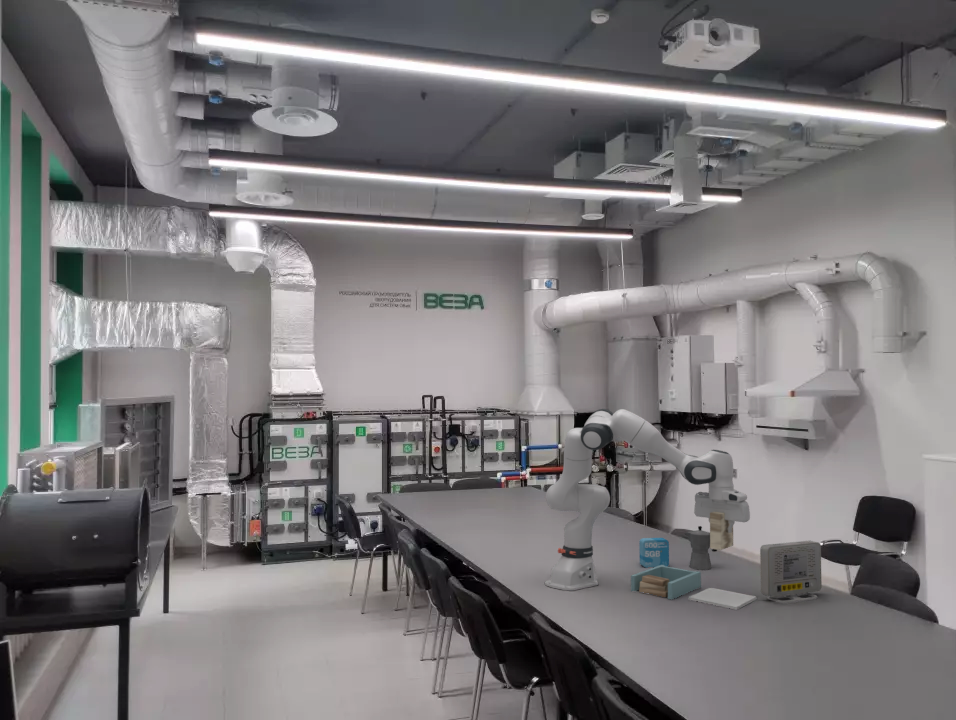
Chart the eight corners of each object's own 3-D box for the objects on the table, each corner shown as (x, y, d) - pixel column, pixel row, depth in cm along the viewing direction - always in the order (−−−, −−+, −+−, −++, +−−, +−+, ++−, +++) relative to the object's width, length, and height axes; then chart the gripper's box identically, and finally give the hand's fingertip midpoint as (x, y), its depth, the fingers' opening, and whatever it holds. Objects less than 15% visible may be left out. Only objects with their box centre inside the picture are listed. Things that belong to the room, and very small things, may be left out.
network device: (809, 591, 276) (808, 539, 277) (827, 597, 268) (826, 543, 269) (756, 598, 267) (755, 544, 268) (774, 604, 259) (773, 548, 260)
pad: (736, 610, 252) (736, 607, 252) (688, 599, 264) (688, 597, 265) (756, 599, 266) (756, 596, 266) (710, 590, 278) (710, 587, 278)
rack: (671, 600, 264) (671, 583, 265) (631, 591, 276) (630, 575, 276) (700, 587, 282) (700, 571, 282) (661, 579, 293) (661, 564, 294)
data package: (643, 568, 313) (643, 540, 314) (639, 565, 317) (639, 538, 318) (669, 567, 315) (669, 539, 315) (665, 564, 319) (664, 537, 320)
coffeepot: (684, 569, 311) (683, 527, 312) (685, 564, 320) (684, 523, 321) (721, 571, 307) (721, 529, 307) (721, 566, 316) (720, 525, 316)
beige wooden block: (720, 550, 261) (720, 514, 261) (710, 548, 263) (709, 512, 264) (733, 545, 269) (733, 510, 269) (723, 543, 271) (722, 509, 272)
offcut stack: (665, 598, 267) (665, 581, 267) (638, 592, 274) (638, 576, 275) (672, 595, 271) (671, 579, 271) (645, 589, 278) (645, 574, 278)
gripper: (691, 492, 271) (691, 529, 271) (744, 497, 258) (744, 536, 257) (698, 490, 276) (699, 526, 275) (751, 495, 262) (751, 533, 262)
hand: (721, 531), depth 266 cm, fingers closed on beige wooden block, 4 cm apart
